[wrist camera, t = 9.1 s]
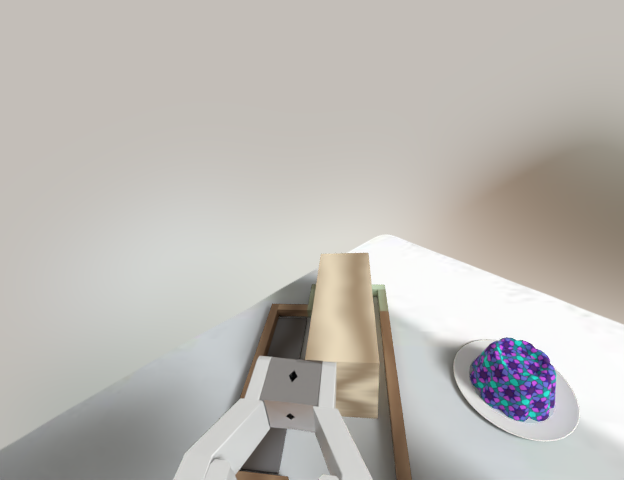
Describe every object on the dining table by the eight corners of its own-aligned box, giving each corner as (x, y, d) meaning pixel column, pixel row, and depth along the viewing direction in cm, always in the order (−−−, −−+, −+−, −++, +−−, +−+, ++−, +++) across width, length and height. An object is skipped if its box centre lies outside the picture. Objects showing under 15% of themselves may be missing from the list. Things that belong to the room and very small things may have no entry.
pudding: (444, 338, 39) (450, 311, 36) (545, 348, 36) (559, 320, 33) (464, 432, 29) (474, 404, 26) (605, 457, 26) (632, 429, 23)
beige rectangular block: (315, 415, 32) (304, 360, 27) (326, 302, 47) (320, 253, 42) (377, 419, 31) (379, 363, 26) (368, 302, 46) (368, 252, 41)
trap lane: (196, 545, 24) (191, 540, 23) (280, 290, 51) (278, 284, 50) (423, 584, 21) (425, 579, 20) (384, 291, 48) (384, 284, 47)
